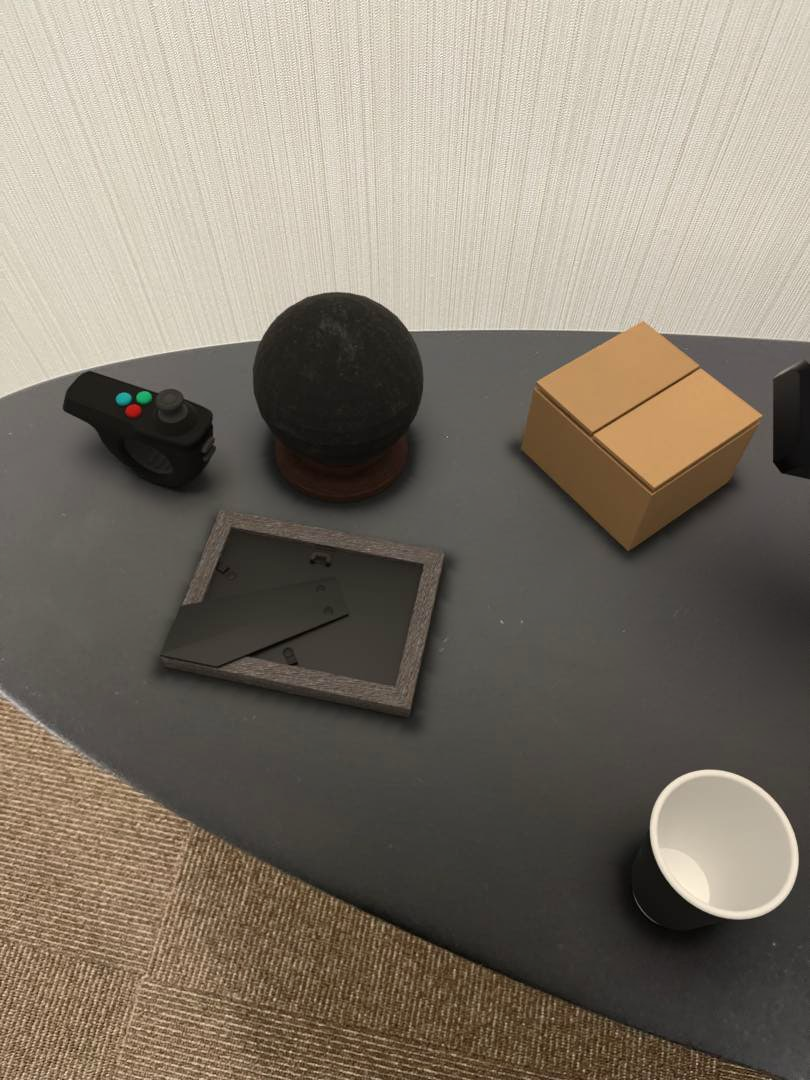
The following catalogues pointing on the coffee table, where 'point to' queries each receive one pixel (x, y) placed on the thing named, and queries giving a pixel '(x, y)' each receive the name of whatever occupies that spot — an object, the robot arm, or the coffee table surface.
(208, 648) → the picture frame
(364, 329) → the black ball on stand
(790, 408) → the robot arm
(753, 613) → the coffee table surface
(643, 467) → the flap
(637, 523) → the carton
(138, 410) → the controller
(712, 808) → the dixie cup
